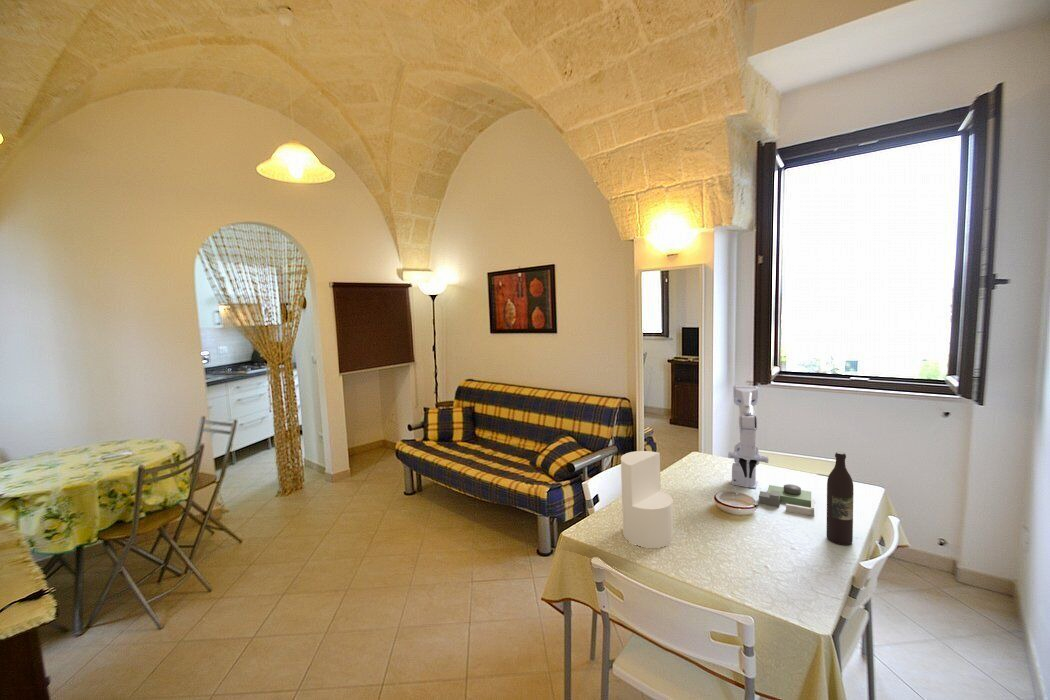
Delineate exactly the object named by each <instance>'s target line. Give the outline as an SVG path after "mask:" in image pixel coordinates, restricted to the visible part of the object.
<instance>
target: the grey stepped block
mask: <svg viewBox="0 0 1050 700" xmlns="http://www.w3.org/2000/svg"><path fill="white" fill-rule="evenodd" d="M758 504H759V505H764V506H769V507H774V508H780V504H781V502H780V494H779V491H774V490H771V493H768V491H762V490H760V491H759V494H758Z"/></svg>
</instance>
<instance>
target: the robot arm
mask: <svg viewBox="0 0 1050 700" xmlns="http://www.w3.org/2000/svg"><path fill="white" fill-rule="evenodd" d="M732 389H733V396H732V397H733V403H734V405H736V406H738V409H739V410H738V411H739V416H738V429H739V437H740V438H739V440H740V441H739V442H738V443H736V444H735V445H734V449H733V452H731V451H729V452H728V453H727V455H728V456H727V457H728V459H734V460H733V463H732V465H731V466H732V468H731V485H732V486H739V487H744V488H748V489H749V488H751V489H756V488H757V486H758V483H759V481H757V476H756V475H757V473H756V470H757V468H756V467H757V466H759V464H760V462H761V463H765V464H769V461H770V460H769V456H763V455H760V451H759V447H758V446H757V430H758V417H757V415H756V412H755V409H756V408H755V407H754V406H757V404H758V400H759V399H758V398H759V397H758V396H759V387H758V386H757V385H737V384H736V385H733V387H732Z"/></svg>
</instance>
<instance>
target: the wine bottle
mask: <svg viewBox="0 0 1050 700" xmlns="http://www.w3.org/2000/svg"><path fill="white" fill-rule="evenodd" d="M834 457H835V465H834V467H833V469H831V471H830V473H829V474H828V477H827V483H826V538H827V540H828V541H830V542H831V543H833V544H837V545H839V546H849V545H852V543H853V540H854V536H853V535H854V483H853V478H852V477H851V475H850V473H849V471H848V470H847V466H846V459H847V455H846V453H845V452H842V451H836V452H835V454H834Z"/></svg>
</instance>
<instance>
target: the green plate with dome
mask: <svg viewBox="0 0 1050 700" xmlns="http://www.w3.org/2000/svg"><path fill="white" fill-rule="evenodd" d="M771 490H774V491H779V494H780V503H785V511H786V512H790V513H794V514H795V513H796V514H800V515H807V516H811V517H815V499H812V491H809V490H802V489H801V487H800V486H799V485H796V484H791V483H790V484H788V483H787V484H784V485H783V486H779V485H773V484H771V485H770V484H769V485H768V487H767V492H768V493H771Z"/></svg>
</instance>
